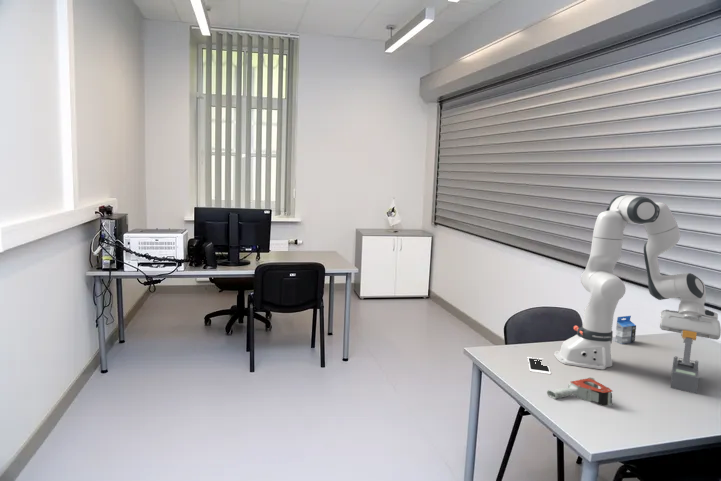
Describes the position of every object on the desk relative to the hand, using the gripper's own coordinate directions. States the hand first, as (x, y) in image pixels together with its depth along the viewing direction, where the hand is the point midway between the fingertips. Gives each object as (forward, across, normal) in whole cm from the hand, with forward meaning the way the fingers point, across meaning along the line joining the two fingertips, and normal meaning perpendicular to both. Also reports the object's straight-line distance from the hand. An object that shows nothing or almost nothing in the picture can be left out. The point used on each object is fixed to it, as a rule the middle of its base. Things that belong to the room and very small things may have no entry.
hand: (687, 342), depth 187 cm
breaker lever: (+10, 0, -2) cm, 10 cm away
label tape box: (-12, -24, +31) cm, 40 cm away
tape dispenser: (+44, -30, -24) cm, 59 cm away
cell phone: (+30, -49, -10) cm, 59 cm away
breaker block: (+15, 0, +3) cm, 16 cm away
